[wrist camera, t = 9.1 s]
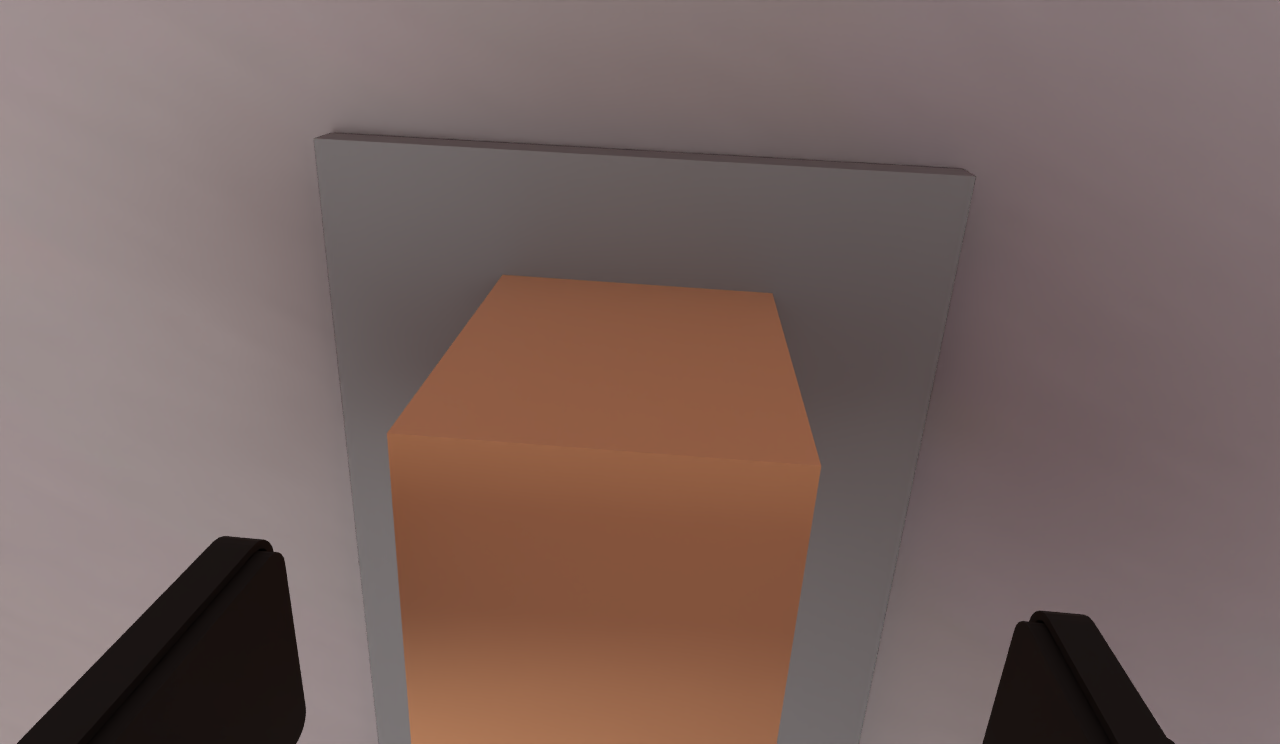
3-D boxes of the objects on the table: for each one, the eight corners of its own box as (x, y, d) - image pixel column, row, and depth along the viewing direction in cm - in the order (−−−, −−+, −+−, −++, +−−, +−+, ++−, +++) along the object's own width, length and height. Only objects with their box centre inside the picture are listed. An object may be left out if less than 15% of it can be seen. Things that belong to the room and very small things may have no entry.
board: (962, 168, 15) (975, 176, 15) (811, 930, 24) (814, 958, 24) (330, 132, 16) (313, 138, 15) (406, 893, 25) (397, 920, 24)
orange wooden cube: (772, 292, 16) (821, 465, 10) (744, 522, 18) (770, 781, 12) (502, 274, 16) (387, 433, 10) (505, 503, 18) (411, 750, 12)
